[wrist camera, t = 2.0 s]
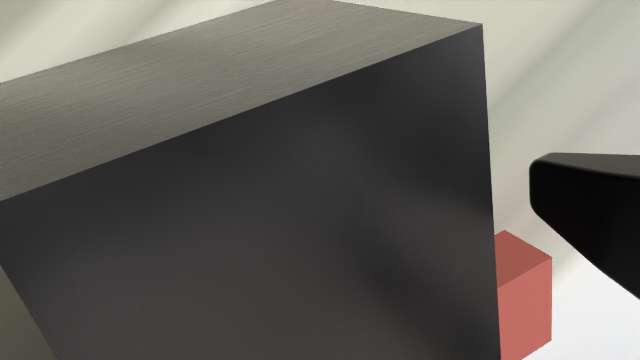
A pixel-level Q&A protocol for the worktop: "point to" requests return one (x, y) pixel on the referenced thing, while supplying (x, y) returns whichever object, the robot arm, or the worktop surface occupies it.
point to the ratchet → (522, 296)
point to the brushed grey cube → (258, 191)
